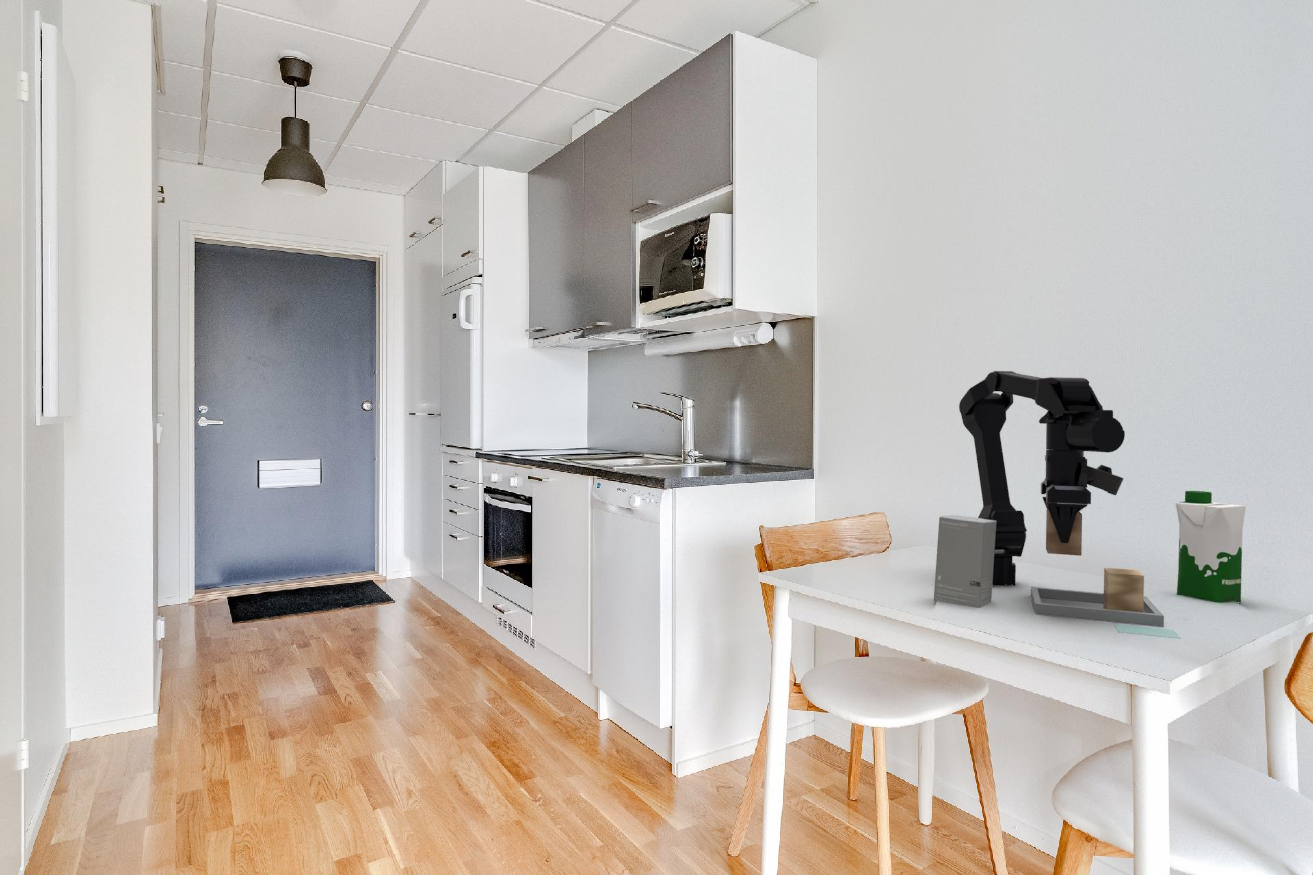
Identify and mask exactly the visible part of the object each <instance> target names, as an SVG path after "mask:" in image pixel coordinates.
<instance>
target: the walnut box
mask: <svg viewBox="0 0 1313 875" xmlns="http://www.w3.org/2000/svg"><path fill="white" fill-rule="evenodd" d="M1045 515H1046V523H1045V526H1046V527H1045V529H1046V530H1045V550H1046V552H1047V554H1050V555H1051V554H1052V555H1064V556H1065V555H1067V556H1079V557H1081V556H1082V553H1083V552H1082V549H1083V547H1082V542H1083V540H1082V539H1083V514H1082V512H1081V511H1079V512H1078V513H1077V514H1076V517H1075V521H1074V524H1073V528H1072V532H1071V535H1070V539H1069V542H1068V543H1062V542H1061V541H1060V538H1059V536H1058V533H1057V531H1056V528H1055V525H1054V523H1053V520H1052V518H1051V515H1050V512H1049V510H1047V509H1046V514H1045Z"/></svg>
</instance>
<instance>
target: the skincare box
mask: <svg viewBox="0 0 1313 875" xmlns="http://www.w3.org/2000/svg"><path fill="white" fill-rule="evenodd" d="M996 522H997V521H995V520H988V519H981V518H978V517H975V516H966V515H965V516H964V515H957V514H949V515H948V514H947V515H940V516H939V519H938V531H937V532H938V533H937V544H936V546H937V549H936V560H935V577H934V589H933V590H934V592H933V602H934V604H937V602H943V603H949V604H952V605H954V604H955V605H960V606H967V607H973V608H978V609H979V608H981V607H982V608H983V607H984V606H987V605H988V604H989V603H991V602H992V596H993V585H992V582H993V566H994V551H995V535H996Z"/></svg>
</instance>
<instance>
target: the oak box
mask: <svg viewBox="0 0 1313 875" xmlns="http://www.w3.org/2000/svg"><path fill="white" fill-rule="evenodd" d="M1144 588H1145V575H1144V574H1143V573H1142V572H1141V571H1140V569H1128V568H1113V567H1103V593H1104V604H1103V608H1104V609H1111V610H1121V611H1132V612H1143V603H1144V597H1145V596H1144V594H1145V592H1144V591H1145V590H1144Z"/></svg>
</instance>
